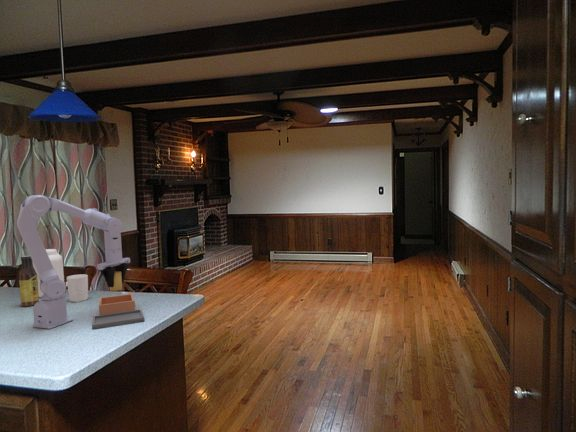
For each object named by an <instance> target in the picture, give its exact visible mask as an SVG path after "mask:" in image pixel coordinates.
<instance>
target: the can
mask: <svg viewBox="0 0 576 432" xmlns="http://www.w3.org/2000/svg"><path fill="white" fill-rule="evenodd" d="M45 249H46V252H47V254H48V256H49V259H50V261H51V263H52V266H53V268H54V270H55V271H56V273H57V275H58V277H59V279H60V280H61V281H63V282H64V283H65V274H64V260H63V256H62V255H61V254H60V253H58V250H57V248H48V249H47V248H45ZM32 262H33V261H32ZM33 267H34V269H35V271H36V273H37V279H38V293H39V299H40V298H41V297H42V295H43V294H44V293H43V292H42V291H41V290H40V279H39V277H38V272H37V270H36V268H35V265H34V263H33Z"/></svg>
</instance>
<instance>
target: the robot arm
mask: <svg viewBox="0 0 576 432" xmlns="http://www.w3.org/2000/svg"><path fill="white" fill-rule="evenodd" d="M47 212H61V213H64V214H68V215H70V216H73V217H76V218H78V219H80V220H81V221H82V223H83V224H84V225H85V224H86V225H88V226H91V227H93V228H96V229H98V230H102V231H103V232H104V234H103V235H104V237H103V238H104V249H105V250H104V253H105V261H104V262H100V263H98V264H96V269H97V270H98V271H99V272H100V273H101V274H102V276H103V277H104V280H105V282H106V285H107V288H109V287H114V273H115V271H121V276H122V285H124V283H125V277H126V274H127V271H128V269H129V264H130V263H131V258H130V257H123V251H122V250H123V249H122V235H121V231H122V229H123V227H124V224H123V223H122V220H121V219H119V218H118V217H113V216H111V214H109V213H104V212H101V211H98V208H95V207H93V208H87V209H84V208H83V209H82V208H81V207H78V206H76V205H73V204H70V203H68V202H66V201H63V200H61V199H57V198H54V197H50V196H46V195H43V194H33V195H29V196H27V197H26V198H25V199H24V201H22V203H21V204H20V209H19V214H18V216H17V222H16V226H17V229H18V231H19V234H20V236H21V238H22V240H23V243H24V245H25V246H26V250H27V252H28V254H29V256H31V259H32V261H33V263H34V265H35V268H36V270H37V272H38V277H39V279H40V290H41V291H42V292H43V293H44V294H43V295H42V297H41V299H40V300H39V302H37V303H36V304H35V305H33V308H32V311H33V325H32V327H33V328H40V329H49V330H50V329H53V328H55V327H59V326H60V325H64V324H66V323H69V322H72V321H74V318H70V317H68V312H67V310H68V309H67V298H66V294H65V293H66V291H67V285H66V283H65V281H64V282H63V281H61V280H60V279H59V277H58V275H57V273H56V271H55V270H54V268H53V266H52V263H51V261H50V259H49V256H48V254H47V252H46V249H47V248H45V244H44V243H43V240H42V238H41V236H40V234H39V231H38V229H37V227H36V226H37V224H38V222H39V220H41V218H42V217H43V216H44V215H45V214H46V213H47Z"/></svg>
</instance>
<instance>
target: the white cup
mask: <svg viewBox="0 0 576 432" xmlns="http://www.w3.org/2000/svg"><path fill="white" fill-rule="evenodd" d="M66 284H67V285H66V286H67V292H68V296H69V297H68V298H69V302H72V303H77V302H83V301H87V300H89V299H88V298H89V294H88V293H89V275H88V274H85V273H84V274H81V273H80V274H73V275H68V276H66Z"/></svg>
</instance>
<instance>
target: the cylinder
mask: <svg viewBox="0 0 576 432" xmlns="http://www.w3.org/2000/svg"><path fill="white" fill-rule="evenodd" d="M108 288H109V291H110V292H117V291H121V290H123V284H122V276H121V271H115V273H114V287H108Z"/></svg>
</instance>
